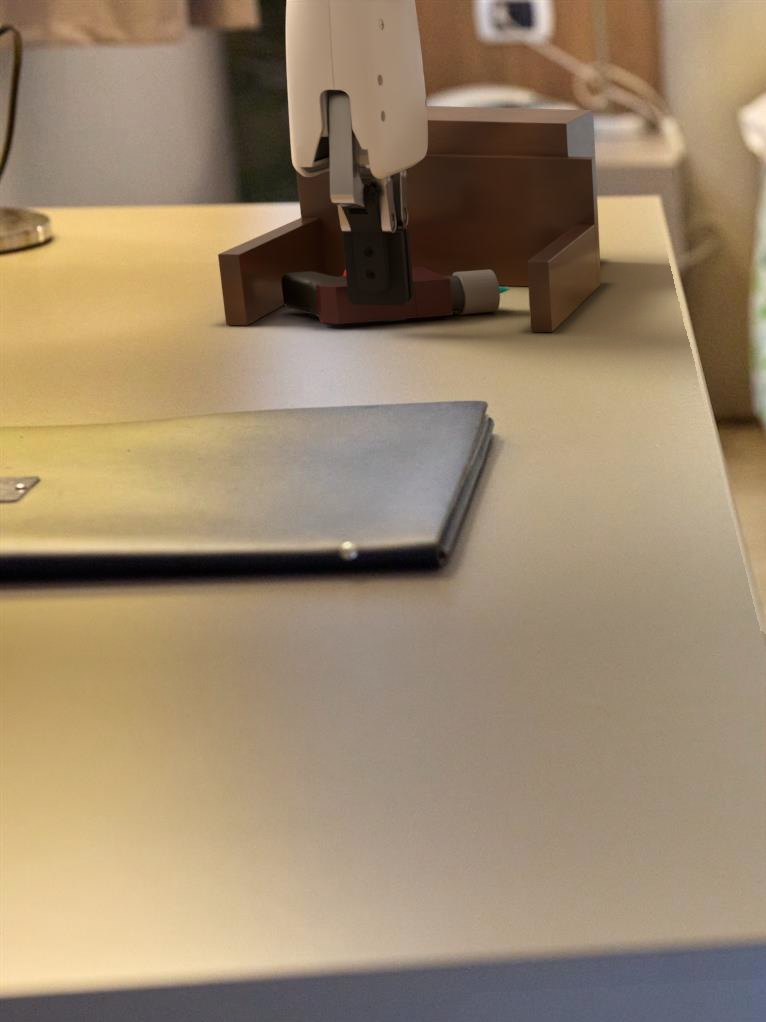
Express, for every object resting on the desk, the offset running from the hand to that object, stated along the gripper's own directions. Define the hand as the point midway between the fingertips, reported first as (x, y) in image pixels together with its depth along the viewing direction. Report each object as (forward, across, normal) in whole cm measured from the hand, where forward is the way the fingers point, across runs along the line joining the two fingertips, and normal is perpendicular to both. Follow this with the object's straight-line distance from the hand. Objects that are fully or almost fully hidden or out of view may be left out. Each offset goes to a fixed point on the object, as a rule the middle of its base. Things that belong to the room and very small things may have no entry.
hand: (381, 301), depth 109 cm
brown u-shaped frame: (+2, -14, 0) cm, 14 cm away
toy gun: (+2, -7, -1) cm, 8 cm away
